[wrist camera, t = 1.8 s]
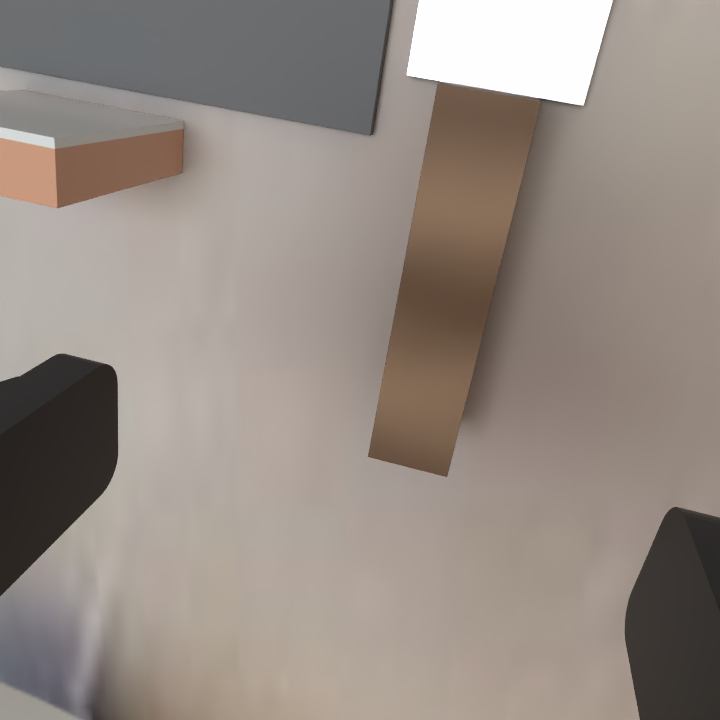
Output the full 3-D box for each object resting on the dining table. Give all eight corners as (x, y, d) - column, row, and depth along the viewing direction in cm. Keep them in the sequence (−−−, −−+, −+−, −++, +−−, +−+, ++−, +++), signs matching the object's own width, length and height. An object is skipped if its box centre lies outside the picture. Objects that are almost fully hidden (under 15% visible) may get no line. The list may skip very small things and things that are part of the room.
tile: (184, 120, 26) (54, 138, 19) (182, 172, 27) (57, 208, 19) (23, 90, 27) (-158, 95, 20) (27, 141, 28) (-147, 164, 20)
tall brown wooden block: (492, 428, 28) (487, 487, 24) (355, 394, 29) (329, 447, 25) (639, -105, 20) (669, -150, 16) (444, -130, 21) (427, -179, 17)
